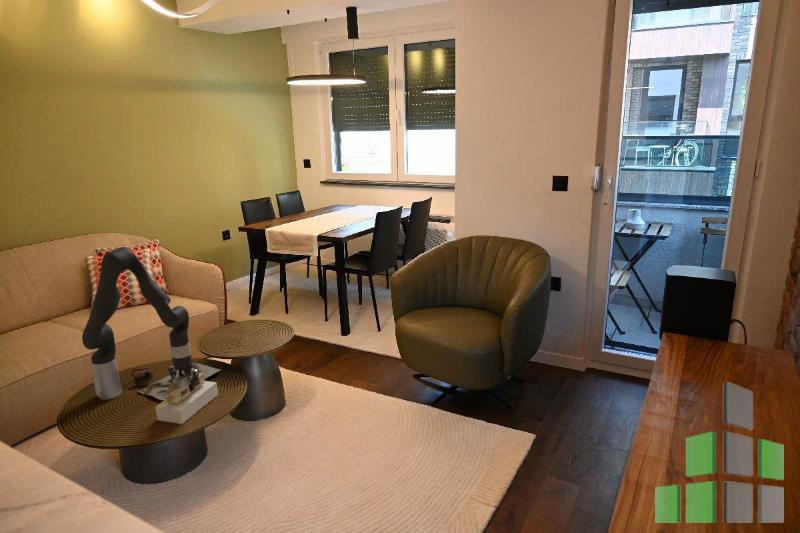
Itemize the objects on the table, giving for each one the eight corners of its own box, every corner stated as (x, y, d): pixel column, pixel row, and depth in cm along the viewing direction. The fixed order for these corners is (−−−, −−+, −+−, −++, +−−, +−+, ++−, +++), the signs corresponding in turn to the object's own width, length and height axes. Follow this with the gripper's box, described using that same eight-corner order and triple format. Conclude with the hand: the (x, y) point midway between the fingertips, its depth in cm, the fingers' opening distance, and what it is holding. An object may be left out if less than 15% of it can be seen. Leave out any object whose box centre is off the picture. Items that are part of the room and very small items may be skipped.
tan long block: (166, 401, 206) (165, 392, 205) (195, 381, 223) (194, 371, 221) (177, 403, 205) (175, 393, 203) (204, 382, 221) (203, 373, 220)
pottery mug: (126, 387, 234) (126, 370, 236) (142, 387, 243) (142, 370, 245) (146, 384, 231) (146, 366, 233) (162, 383, 239) (161, 366, 242)
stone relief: (137, 393, 228) (164, 404, 218) (136, 388, 228) (163, 398, 218) (197, 365, 255) (223, 373, 245) (196, 360, 255) (223, 368, 244)
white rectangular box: (157, 420, 206) (155, 406, 204) (195, 391, 228) (193, 379, 227) (182, 424, 203) (180, 410, 201) (218, 394, 225) (216, 382, 223)
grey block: (173, 386, 209) (172, 379, 208) (180, 381, 213) (179, 374, 212) (182, 388, 208) (181, 381, 207) (189, 383, 212) (188, 376, 211)
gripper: (160, 355, 207) (166, 392, 212) (189, 359, 204) (195, 396, 208) (173, 348, 214) (178, 384, 219) (201, 351, 211) (206, 388, 215)
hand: (186, 390), depth 214 cm, fingers closed on tan long block, 5 cm apart
